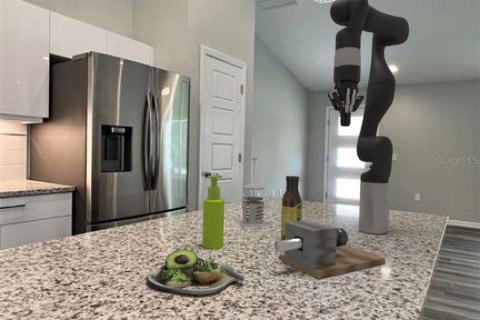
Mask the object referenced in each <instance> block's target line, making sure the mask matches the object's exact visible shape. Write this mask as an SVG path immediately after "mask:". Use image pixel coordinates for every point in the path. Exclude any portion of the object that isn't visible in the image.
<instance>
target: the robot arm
mask: <svg viewBox="0 0 480 320" xmlns="http://www.w3.org/2000/svg"><path fill="white" fill-rule="evenodd" d="M329 15H330V18H331V20H332V22H334V24H336V25H338V26H341V27H343V28H342V29H340V30H338V32H336V33H335V49H334V52H335V53H334V59H333V77H332V78H333V81H332V82H333V83H334V86H333V90H332V91H329V92H328V93H327V97H328V98H329V100H330V102H331V105H332V107H333V108H334V111H336V112H338V113H339V114H340V118H339V119H340V120H339V123H340V124H339V125H340V126H341V127H345V128H346V127H348V128H349V127H350V125H351V122H352V121H351V120H352V114H353V113H354V112H357V110H358V108H360V106H361V104H362V102H363V101H364V99H365V103H364V104H365V105H364V110H363V117H362V119H361V120H362V121H361V125H360V130H359V132H358V133H359V134H358V138H357V142H356V147H355V148H356V151H355V152H356V157H357V158H358V160H360V161H361V162H363V163H371V167H370V168H369V169H368V170H367V171H365V172H364V171H363V172H362V173H361V174H360V177H359V178H360V181H359V182H360V183H359V206H358V207H359V213H358V215H359V216H358V231H360V232H361V233H366V234H373V235H374V234H375V235H384V234H387V233H388V232H389V227H390V226H389V223H390V220H389V219H390V204H389V183H390V182H389V180H390V178H391V175H392V174H391V173H392V166H393V155H394V147H393V143H392V141H391V139H390V138H389V137H388V136H386V135H385V136H384V135H377V133H378V128H379V125H380V124H381V121H382V119H383V118H384V117H385V115H386V114H387V112H388V111H389V110H390V108H391V106H392V104H393V102H394V99H395V93H396V85H397V83H396V81H397V80H396V78H395V76H394V74H393V72H392V70H391V69H390V67H389V66H388V63H387V61H386V59H385V50H386V48H387V47H393V46H400V45H402V44H404V43H405V42H407V40H408V39H409V36H410V25H409V21H408V20H407V19H406V18H404V17H403V16H397V15H393V14H389V13H386V12H383V11H380V10H378V9H377V8H375V7H374V6H372V5H370V4H369V0H334V1H333V2H332V3H331V6H330V9H329ZM363 32H365V33H372V40H371V55H370V56H371V58H370V59H371V60H370V67H369V76H368V82H367V85H366V86H367V87H366V94H365V95H366V96H364V95H361V94H360V93H359V86H358V85H359V83H360V82H361V74H362V73H361V71H362V55H361V54H362V51H361V44H362V43H361V42H362V39H361V38H362V34H363Z"/></svg>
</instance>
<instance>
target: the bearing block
mask: <svg viewBox="0 0 480 320" xmlns="http://www.w3.org/2000/svg"><path fill="white" fill-rule="evenodd" d="M295 238H303V248H301V249H295V250H289V251H284V253H280V254H279V257H278V258H279V261H280V260H281V261H280V262H282V263H284V264H285V265H289V266H290V267H292V268H295V269H297V270H299V271H301V272H304V273H305V274H307V275H309V276H312V277H314V278H316V279H318V280H320V279H325V278H329V277H334V276H339V275H343V274H347V273H351V272H356V271H360V270H364V269H369V268H374V267H377V266H382V265H385V264H386V258H385V257H383V256H380V255H377V254H374V253H371V252H367V251H365V250H362V249H359V248H356V247H352V246H350V245H348V244H346V245H344V246H339V247H336V239H337V227H335V226H332V225H328V224H324V223H321V222H317V221H313V220H310V219H302V220H301V221H292V222H286V224H285V240H288V239H295Z"/></svg>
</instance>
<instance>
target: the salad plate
mask: <svg viewBox="0 0 480 320" xmlns="http://www.w3.org/2000/svg"><path fill="white" fill-rule="evenodd" d="M245 279H246V277H245V276H243V275H241V274H238V273H237V272H236V270H235V268H234V267H233V266H232V265H229V264H225V263H218V262H215V261H214V260H206V259H204V258H202V257H198V255H197V253H195V252H194V251H193V250H190V249H180V250H179V249H178V250H176V251H173V252H172V253H170V254H168V255H167V256H166V258H165V260H164V265H162V266H161V267H159V268H157V269H155V270H152V272H150V273H148V274H147V276H146V282H147V284H148V285H149V286H151V287H152V288H153V289H155V290H159V291H163V292H169V293H175V294H181V295H182V294H183V295H193V296H205V295H210V294H212V295H213V294H216V293H218V292H221V291H222V290H224V289H225V288H226V287H227V286H229V285H230V284H231V283H233V282H235V281H245ZM192 285H193V286H194V285H201V286H208V288H206V287H205V288H196V289H187V288H186V287H189V286H192Z"/></svg>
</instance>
